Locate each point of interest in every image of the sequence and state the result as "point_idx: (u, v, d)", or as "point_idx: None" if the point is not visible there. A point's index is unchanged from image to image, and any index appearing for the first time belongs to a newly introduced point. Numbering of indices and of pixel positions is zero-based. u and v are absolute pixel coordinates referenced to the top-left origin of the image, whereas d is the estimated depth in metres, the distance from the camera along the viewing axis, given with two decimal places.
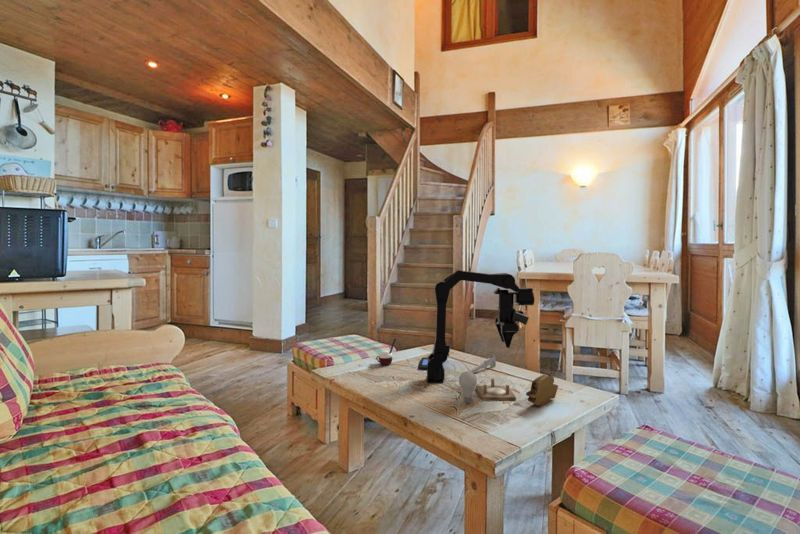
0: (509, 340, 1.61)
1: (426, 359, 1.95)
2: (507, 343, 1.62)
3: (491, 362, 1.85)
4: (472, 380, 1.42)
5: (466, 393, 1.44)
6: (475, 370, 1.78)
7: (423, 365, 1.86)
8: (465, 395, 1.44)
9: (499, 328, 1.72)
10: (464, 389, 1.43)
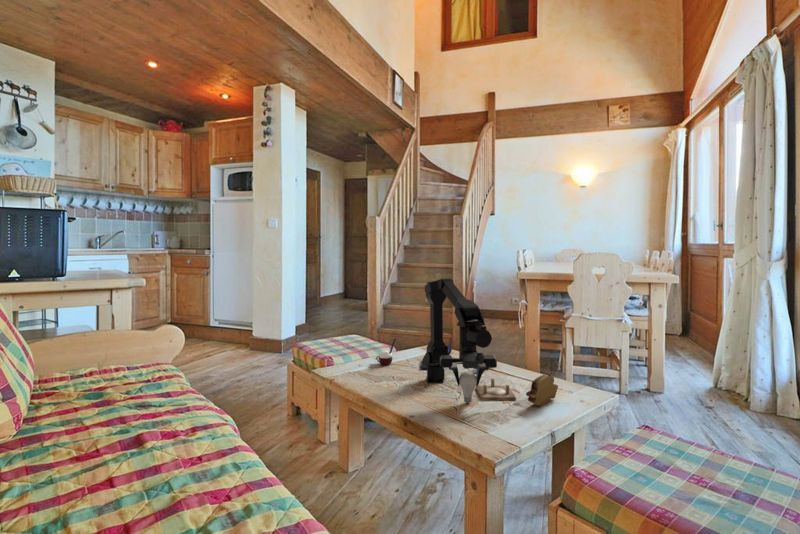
0: None
1: None
2: (456, 380, 1.45)
3: None
4: (472, 380, 1.42)
5: (466, 393, 1.44)
6: (475, 370, 1.78)
7: None
8: (465, 395, 1.44)
9: (477, 369, 1.46)
10: (464, 389, 1.43)
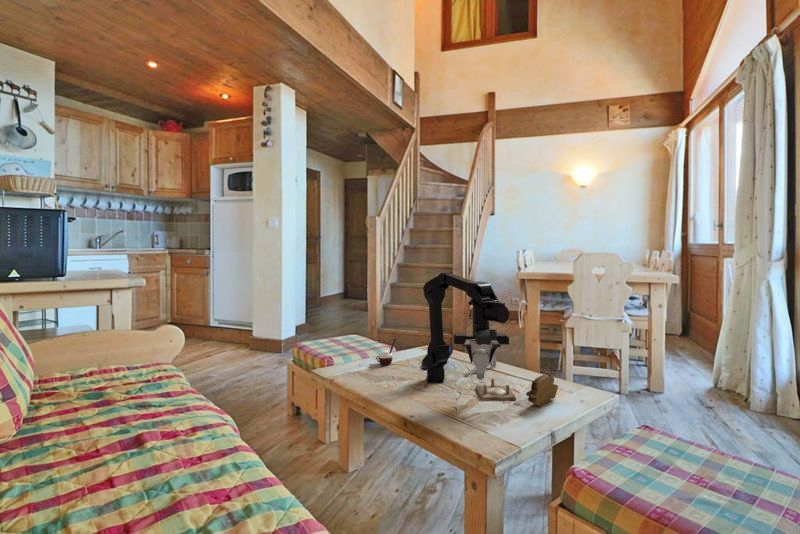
0: None
1: None
2: (469, 357, 1.49)
3: (491, 362, 1.85)
4: (485, 356, 1.46)
5: (479, 369, 1.47)
6: (475, 370, 1.78)
7: None
8: (478, 371, 1.47)
9: None
10: (477, 366, 1.47)
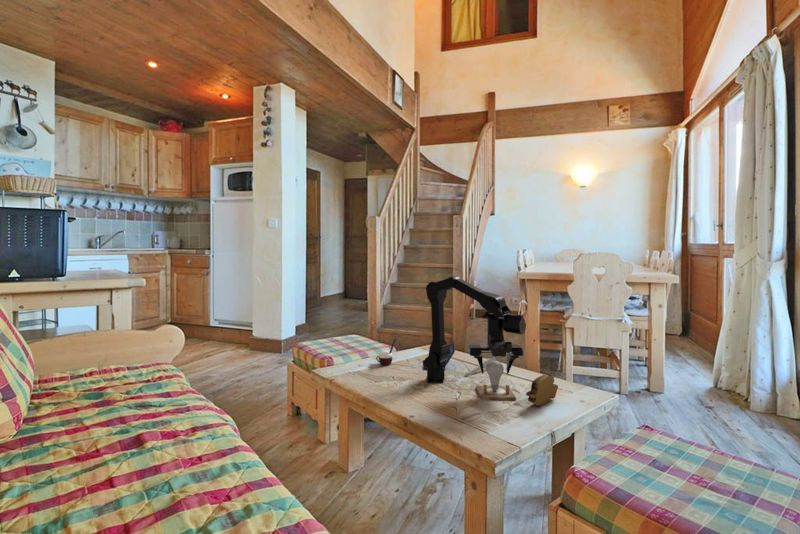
0: (479, 365, 1.53)
1: None
2: (480, 368, 1.54)
3: None
4: (499, 368, 1.51)
5: (493, 381, 1.52)
6: (475, 370, 1.78)
7: None
8: (492, 383, 1.53)
9: (507, 357, 1.55)
10: (492, 377, 1.52)
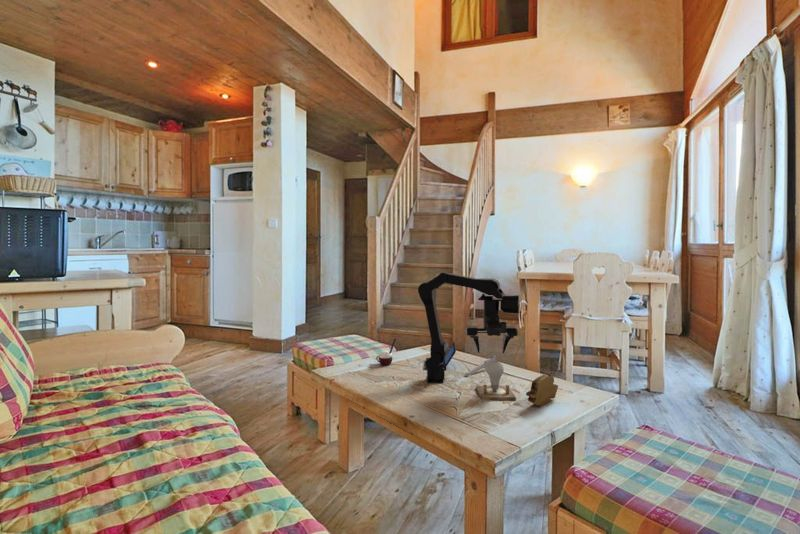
0: (476, 345, 1.61)
1: None
2: None
3: None
4: (499, 368, 1.51)
5: (493, 381, 1.52)
6: (475, 370, 1.77)
7: None
8: (492, 383, 1.53)
9: (503, 338, 1.62)
10: (492, 377, 1.52)
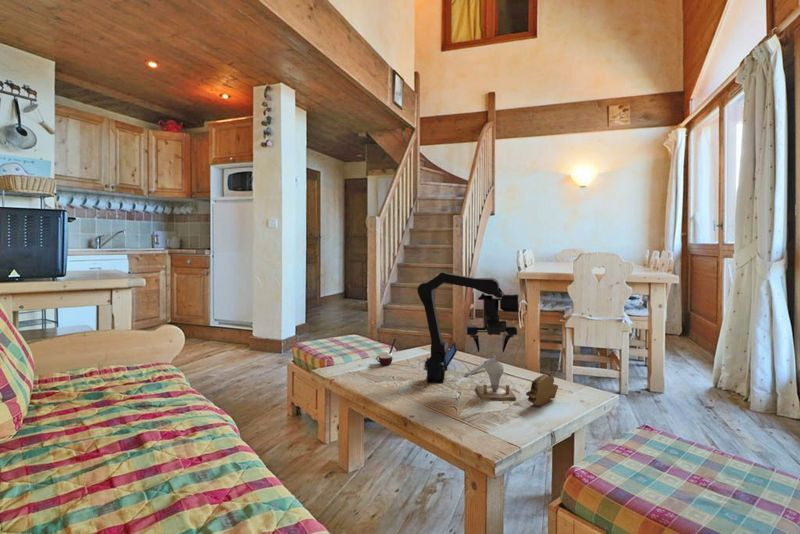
0: None
1: None
2: None
3: None
4: (499, 368, 1.51)
5: (493, 381, 1.52)
6: (475, 370, 1.77)
7: None
8: (492, 383, 1.53)
9: (503, 337, 1.63)
10: (492, 377, 1.52)
